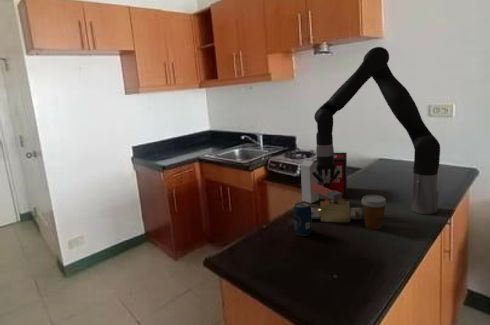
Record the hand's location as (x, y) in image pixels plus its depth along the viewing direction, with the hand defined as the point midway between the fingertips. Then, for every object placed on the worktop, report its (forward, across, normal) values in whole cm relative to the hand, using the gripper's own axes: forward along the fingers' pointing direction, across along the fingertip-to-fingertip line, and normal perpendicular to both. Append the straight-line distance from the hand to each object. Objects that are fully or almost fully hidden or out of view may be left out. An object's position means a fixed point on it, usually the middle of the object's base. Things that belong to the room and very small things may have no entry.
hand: (326, 190), depth 154 cm
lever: (0, +1, +4) cm, 5 cm away
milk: (+10, +7, -13) cm, 18 cm away
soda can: (+9, +12, +24) cm, 28 cm away
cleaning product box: (+10, -8, -24) cm, 27 cm away
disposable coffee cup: (+10, -16, +19) cm, 27 cm away
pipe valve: (+9, -1, +10) cm, 14 cm away
